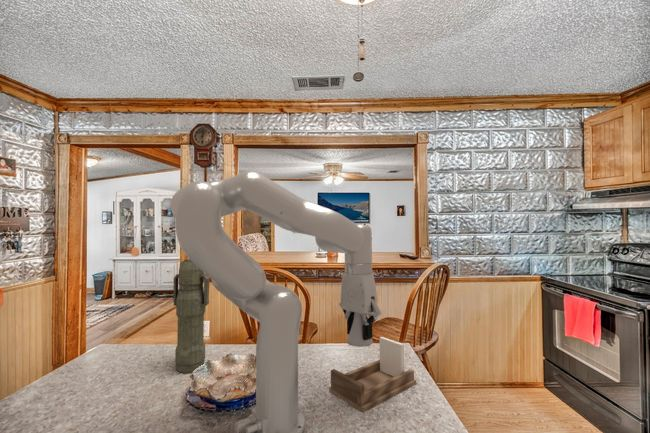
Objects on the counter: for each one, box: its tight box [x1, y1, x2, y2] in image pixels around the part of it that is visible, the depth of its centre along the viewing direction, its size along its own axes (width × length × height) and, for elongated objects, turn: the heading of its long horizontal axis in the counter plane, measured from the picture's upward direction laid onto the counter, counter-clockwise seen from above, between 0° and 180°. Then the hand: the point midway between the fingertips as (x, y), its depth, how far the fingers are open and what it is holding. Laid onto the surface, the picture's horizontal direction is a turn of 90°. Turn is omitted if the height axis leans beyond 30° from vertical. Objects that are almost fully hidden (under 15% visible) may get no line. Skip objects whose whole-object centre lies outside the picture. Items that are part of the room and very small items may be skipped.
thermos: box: [172, 259, 211, 375], centre depth 102 cm, size 9×12×35 cm
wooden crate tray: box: [328, 359, 417, 413], centre depth 88 cm, size 22×13×6 cm, turn 129°
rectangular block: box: [378, 336, 405, 377], centre depth 93 cm, size 1×8×10 cm, turn 39°
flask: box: [346, 313, 374, 348], centre depth 85 cm, size 7×7×10 cm
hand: (359, 335), depth 85 cm, fingers closed on flask, 5 cm apart
